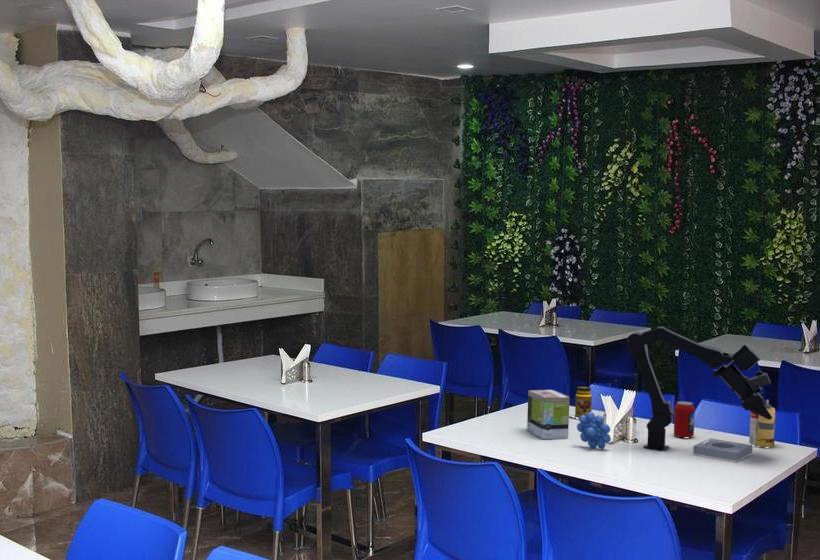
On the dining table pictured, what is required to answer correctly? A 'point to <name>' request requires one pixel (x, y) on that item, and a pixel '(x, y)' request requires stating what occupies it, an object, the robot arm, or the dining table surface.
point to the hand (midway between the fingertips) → (771, 417)
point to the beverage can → (684, 419)
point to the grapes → (593, 430)
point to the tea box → (548, 414)
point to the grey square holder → (722, 450)
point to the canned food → (754, 433)
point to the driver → (766, 424)
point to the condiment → (583, 401)
